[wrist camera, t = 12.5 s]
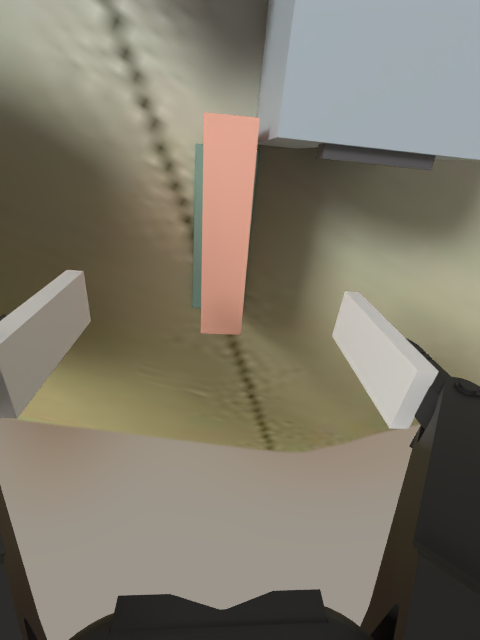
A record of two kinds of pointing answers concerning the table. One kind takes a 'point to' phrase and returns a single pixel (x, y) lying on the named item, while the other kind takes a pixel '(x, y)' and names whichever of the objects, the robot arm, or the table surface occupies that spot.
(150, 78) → the table surface
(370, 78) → the pale blue cube
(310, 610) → the robot arm
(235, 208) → the long salmon pink block
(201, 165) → the mat
